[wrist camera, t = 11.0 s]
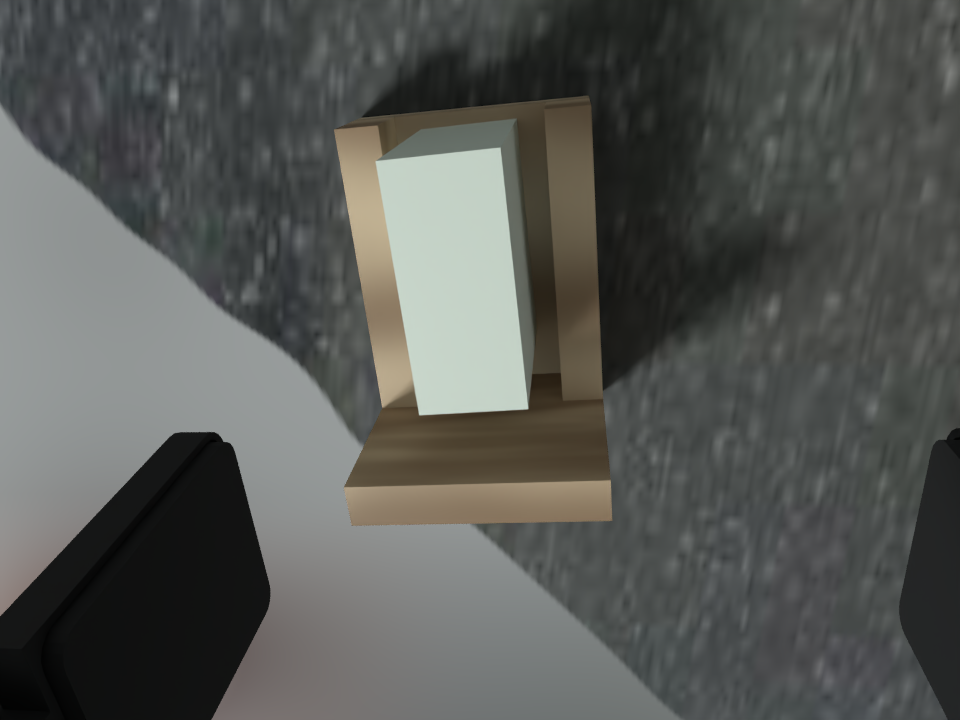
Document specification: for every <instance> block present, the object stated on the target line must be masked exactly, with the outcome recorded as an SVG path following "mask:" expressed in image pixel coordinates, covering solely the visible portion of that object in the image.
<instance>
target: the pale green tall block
mask: <svg viewBox="0 0 960 720" xmlns="http://www.w3.org/2000/svg"><path fill="white" fill-rule="evenodd" d="M376 167H377V173H378V179H379V185H380V190H381V196H382V202H383V208H384V214H385V219H386V225H387V231H388V237H389V243H390V248H391V254H392V260H393V266H394V272H395V278H396V283H397V289H398V295H399V301H400V307H401V312H402V318H403V324H404V330H405V336H406V341H407V347H408V353H409V359H410V365H411V370H412V376H413V382H414V388H415V394H416V399H417V405H418V411H419V415H435V414H453V413H471V412H488V411H506V410H524V409H528V407H529V398H530V388H531V379H532V369H533V359H534V350H535V340H536V331H537V323H536V313H535V302H534V292H533V282H532V271H531V261H530V251H529V240H528V230H527V219H526V209H525V199H524V188H523V178H522V167H521V157H520V147H519V136H518V126H517V118H516V119H508V120H499V121H490V122H481V123H473V124H464V125H455V126H446V127H438V128H429V129H421V130H419V131H418V132H416V133H415V134H414V135H412V136H411V137H409V138H408V139H406V140H405V141H404V142H402V143H401V144H399V145H398V146H396V147H395V148H394V149H392V150H391V151H389V152H388V153H386V154H385V155H383V156H382V157H381V158H379V159H378V160H376Z"/></svg>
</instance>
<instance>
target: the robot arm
mask: <svg viewBox="0 0 960 720" xmlns="http://www.w3.org/2000/svg"><path fill="white" fill-rule="evenodd" d="M269 602H270V585H269V581H268V577H267V573H266V569H265V565H264V562H263V558H262V554H261V550H260V547H259V542H258V539H257V535H256V531H255V527H254V523H253V519H252V516H251V512H250V508H249V504H248V501H247V496H246V493H245V489H244V485H243V481H242V477H241V474H240V470H239V466H238V462H237V458H236V455H235V451H234V449H233V447H232V445H231V444H230V443H228V442H223V440H222V438H221V437H220V436H219V435H218V434H217V433H215V432H180V433H175V434H173V435H172V436H171V437H169V438H168V439H167V441H165V443H164V444H163V445H162V446H161V447H160V448H159V449H158V450H157V451H156V452H155V453H154V454H153V455H152V456H151V457H150V458H149V460H148V461H147V462H146V463H145V464H144V465H143V466H142V467H141V468H140V469H139V470H138V471H137V472H136V473H135V474H134V475H133V476H132V478H131V479H130V480H129V481H128V482H127V483H126V484H125V485H124V486H123V487H122V488H121V489H120V490H119V491H118V492H117V493H116V494H115V495H114V497H113V498H112V499H111V500H110V501H109V502H108V503H107V504H106V505H105V506H104V507H103V508H102V509H101V510H100V511H99V512H98V513H97V515H96V516H95V517H94V518H93V519H92V520H91V521H90V522H89V523H88V524H87V525H86V526H85V527H84V528H83V530H81V531H80V533H79V534H78V535H77V536H76V537H75V538H74V539H73V540H72V541H71V542H70V543H69V544H68V545H67V546H66V547H65V549H64V550H63V551H62V552H61V553H60V554H59V555H58V556H57V557H56V558H55V559H54V560H53V561H52V562H51V563H50V564H49V565H48V567H47V568H46V569H45V570H44V571H43V572H42V573H41V574H40V575H39V576H38V577H37V578H36V579H35V580H34V581H33V582H32V583H31V584H30V586H29V587H28V588H27V589H26V590H25V591H24V592H23V593H22V594H21V595H20V596H19V597H18V598H17V599H16V600H15V601H14V603H13V604H12V605H11V606H10V607H9V608H8V609H7V610H6V611H5V612H4V613H3V614H2V615H1V616H0V720H211V719H212V718H213V716H214V713H215V712H216V710H217V708H218V706H219V704H220V702H221V700H222V698H223V696H224V694H225V692H226V690H227V688H228V686H229V684H230V682H231V681H232V679H233V677H234V675H235V673H236V671H237V669H238V667H239V665H240V663H241V661H242V659H243V657H244V655H245V653H246V652H247V650H248V647H249V646H250V644H251V642H252V640H253V638H254V636H255V634H256V632H257V630H258V628H259V626H260V624H261V622H262V620H263V618H264V617H265V615H266V612H267V610H268V607H269ZM899 614H900V621H901V625H902V629H903V631H904V634H905V636H906V638H907V640H908V642H909V644H910V646H911V648H912V650H913V652H914V654H915V656H916V658H917V659H918V661H919V663H920V665H921V667H922V669H923V671H924V673H925V675H926V677H927V679H928V681H929V683H930V685H931V687H932V689H933V691H934V693H935V695H936V697H937V699H938V701H939V703H940V705H941V707H942V709H943V711H944V713H945V715H946V717H947V719H948V720H960V428H956V429H954V430H952V431H951V433H950V434H949V435H948V437H947V440H938V441H936V442H935V444H934V445H933V448H932V451H931V456H930V460H929V465H928V470H927V475H926V479H925V484H924V489H923V494H922V498H921V503H920V508H919V513H918V517H917V522H916V527H915V532H914V536H913V541H912V546H911V551H910V555H909V560H908V565H907V570H906V574H905V579H904V584H903V589H902V593H901V598H900V605H899Z"/></svg>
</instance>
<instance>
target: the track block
mask: <svg viewBox="0 0 960 720" xmlns="http://www.w3.org/2000/svg"><path fill="white" fill-rule="evenodd" d="M516 118H517V126H518V136H519V147H520V157H521V167H522V178H523V188H524V199H525V209H526V219H527V230H528V240H529V251H530V261H531V271H532V282H533V292H534V302H535V313H536V323H537V331H536V340H535V350H534V359H533V369H532V379H531V388H530V398H529V407H528V409H524V410H506V411H488V412H471V413H453V414H435V415H419V411H418V405H417V399H416V394H415V388H414V382H413V376H412V370H411V365H410V359H409V353H408V347H407V341H406V336H405V330H404V324H403V318H402V312H401V307H400V301H399V295H398V289H397V283H396V278H395V272H394V266H393V260H392V254H391V248H390V243H389V237H388V231H387V225H386V219H385V214H384V208H383V202H382V196H381V190H380V185H379V179H378V173H377V167H376V160H378V159H379V158H381V157H382V156H383V155H385V154H386V153H388V152H389V151H391V150H392V149H394V148H395V147H396V146H398V145H399V144H401V143H402V142H404V141H405V140H406V139H408V138H409V137H411V136H412V135H414V134H415V133H416V132H418V131H419V130H421V129H429V128H438V127H446V126H455V125H464V124H473V123H481V122H490V121H499V120H508V119H516ZM334 131H335V137H336V142H337V148H338V154H339V160H340V166H341V171H342V177H343V183H344V189H345V194H346V200H347V206H348V212H349V217H350V223H351V229H352V235H353V241H354V246H355V252H356V258H357V264H358V269H359V275H360V281H361V287H362V292H363V298H364V304H365V310H366V316H367V321H368V327H369V333H370V339H371V344H372V350H373V356H374V362H375V368H376V373H377V379H378V385H379V391H380V396H381V402H382V410H381V412H380V414H379V416H378V418H377V421H376V423H375V425H374V427H373V429H372V431H371V433H370V435H369V437H368V439H367V441H366V443H365V445H364V447H363V450H362V451H361V453H360V456H359V458H358V460H357V462H356V464H355V466H354V468H353V470H352V472H351V474H350V476H349V478H348V480H347V482H346V484H345V486H344V490H345V495H346V500H347V505H348V510H349V514H350V519H351V524H352V526H358V525H359V526H362V525H411V524H412V525H413V524H469V523H523V522H576V521H612V506H611V480H610V469H609V459H608V448H607V437H606V426H605V416H604V405H603V387H602V362H601V337H600V312H599V287H598V262H597V237H596V212H595V187H594V162H593V137H592V112H591V102H590V99H589V96H580V97H569V98H559V99H549V100H539V101H529V102H518V103H508V104H498V105H488V106H477V107H467V108H457V109H447V110H437V111H426V112H416V113H406V114H396V115H386V116H375V117H365V118H360V119H357V120H355V121H353V122H350V123H348V124H346V125H344V126H341V127H339V128H337V129H335V130H334Z"/></svg>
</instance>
